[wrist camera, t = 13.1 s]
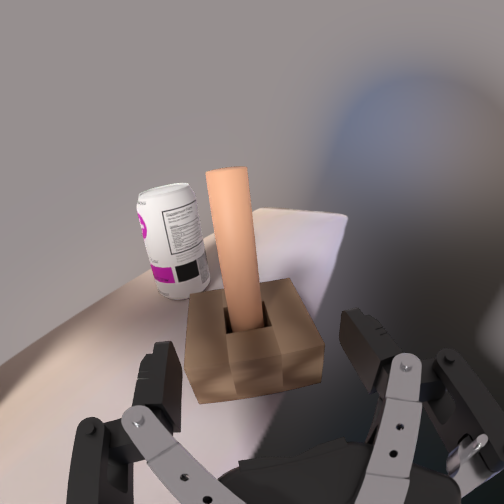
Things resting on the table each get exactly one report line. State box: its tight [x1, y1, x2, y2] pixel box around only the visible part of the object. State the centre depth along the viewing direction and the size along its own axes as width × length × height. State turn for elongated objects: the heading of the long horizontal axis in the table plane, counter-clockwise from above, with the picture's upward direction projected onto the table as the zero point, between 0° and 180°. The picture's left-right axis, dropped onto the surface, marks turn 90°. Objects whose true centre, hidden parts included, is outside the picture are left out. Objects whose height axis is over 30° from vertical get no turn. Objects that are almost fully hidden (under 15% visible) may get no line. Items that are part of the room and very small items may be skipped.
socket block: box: [184, 278, 325, 404], centre depth 25 cm, size 11×11×5 cm
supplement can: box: [136, 183, 210, 300], centre depth 37 cm, size 8×8×15 cm
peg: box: [206, 166, 264, 333], centre depth 23 cm, size 3×3×18 cm
